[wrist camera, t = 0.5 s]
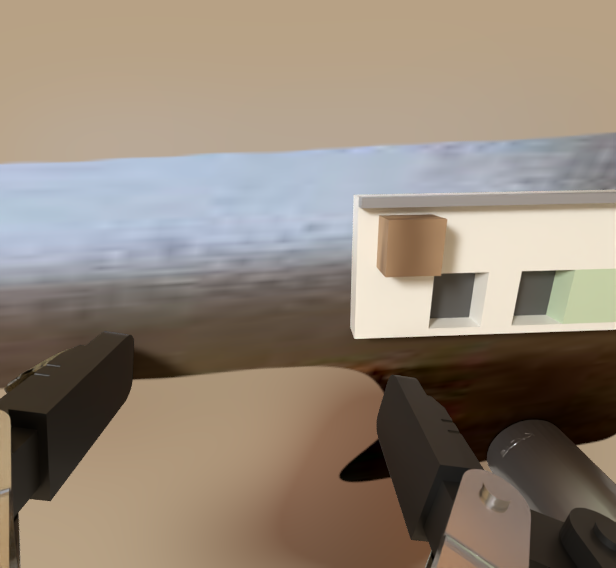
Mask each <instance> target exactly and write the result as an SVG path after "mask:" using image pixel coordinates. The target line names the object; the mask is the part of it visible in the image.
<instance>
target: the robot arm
mask: <svg viewBox="0 0 616 568" xmlns="http://www.w3.org/2000/svg"><path fill="white" fill-rule="evenodd" d="M133 356H134V339H133V336H132V335H127V334H120V333H114V332H107V331H104V332H102V333H101V334H100V335H98V336H97V337H96V338H95V339H93V340H92V341H91V342H90V343H89V344H87V345H86V346H84V345H79V346H76V347H74V348H72V349H69V350H67V351H64V352H62V353H60V354H59V355H57V356H56V357H55V358H53V359H52V360H51V361H49V362H48V363H47V365H46V366H43V367H42V368H40V369H39V370H38V371H36V372H35V374H34V375H31V376H30V377H28V378H27V379H26V380H24V381H23V382H22V383H20V384H19V385H18V386H17V387H15V388H14V389H13V390H11V391H10V392H9V393H7V394H6V395H5V396H3V397H2V398H1V399H0V568H20V536H19V514H18V512H19V511H20V510H21V509H22V507H23V506H24V505H25V504H26V503H27V501H28V500H29V499H35V500H45V501H51V500H52V498H53V497H54V496H55V494H56V493H57V492H58V490H59V489H60V488H61V486H62V485H63V484H64V482H65V481H66V480H67V478H68V477H69V476H70V474H71V473H72V471H73V470H74V469H75V468H76V466H77V465H78V463H79V462H80V461H81V460H82V458H83V457H84V456H85V454H86V453H87V452H88V450H89V449H90V448H91V446H92V445H93V444H94V442H95V441H96V440H97V438H98V437H99V436H100V434H101V433H102V432H103V430H104V429H105V428H106V426H107V425H108V424H109V422H110V421H111V420H112V418H113V417H114V416H115V414H116V413H117V412H118V410H119V409H120V407H121V406H122V405H123V404H124V402H125V401H126V399H127V397H128V395H129V392H130V390H131V386H132V379H133ZM377 434H378V438H379V441H380V444H381V448H382V451H383V454H384V457H385V460H386V463H387V466H388V470H389V473H390V476H391V479H392V482H393V485H394V488H395V491H396V495H397V498H398V501H399V504H400V507H401V510H402V513H403V516H404V520H405V523H406V526H407V529H408V532H409V535H410V538H411V540H419V541H428V542H429V544H430V547H431V550H432V551H431V553H430V556H429V558H428V561H427V564H426V567H425V568H616V484H615V483H614V482H613V481H612V480H611V479H610V478H609V477H608V476H607V475H606V474H605V473H604V472H603V471H602V470H601V469H600V468H599V467H597V466H596V465H595V464H594V463H593V462H592V461H591V460H590V459H589V458H588V457H587V456H586V455H585V454H584V453H583V452H582V451H581V450H580V449H579V448H578V447H577V446H576V445H575V444H574V443H573V442H572V441H571V440H570V439H569V438H568V437H567V436H566V435H565V434H564V433H563V432H562V431H561V430H560V429H558V428H557V427H556V426H555V425H553V424H552V423H550V422H547V421H544V420H526V421H521V422H518V423H516V424H513V425H511V426H509V427H508V428H506V429H504V430H503V431H502V432H501V433H499V434H498V435H497V436H496V438H495V439H494V440H493V441H492V443H491V445H490V447H489V450H488V453H487V462H488V466H489V467H490V469H491V471H492V472H493V473H491V472H488V471H485V470H484V469H483V468H482V466H481V465H480V463H479V461H478V460H477V458H476V457H475V455H474V454H473V452H472V450H471V449H470V447H469V446H468V444H467V443H466V441H465V440H464V438H463V436H462V435H461V434H459V430H458V429H457V427H456V426H455V424H454V423H452V419H451V418H450V416H449V415H448V413H447V412H446V410H445V408H444V407H443V406H441V405H440V404H439V403H438V402H437V401H436V400H435V399H433V398H432V397H431V396H427V395H426V393H425V392H424V390H423V388H422V387H421V385H420V383H419V382H418V380H417V379H416V378H411V377H404V376H398V375H391V376H390V378H389V380H388V383H387V386H386V389H385V393H384V396H383V400H382V403H381V406H380V409H379V413H378V417H377Z"/></svg>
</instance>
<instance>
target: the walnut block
mask: <svg viewBox="0 0 616 568" xmlns="http://www.w3.org/2000/svg"><path fill="white" fill-rule="evenodd" d="M446 227H447V219H446V218H442V217H439V216H436V215H433V214H423V215H379V226H378V247H377V268H378V270H379V271H380V272H381V273H382V274H383V275H384V276H385V277H416V276H441V272H442V263H443V254H444V245H445V236H446Z"/></svg>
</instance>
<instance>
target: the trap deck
mask: <svg viewBox="0 0 616 568" xmlns="http://www.w3.org/2000/svg"><path fill="white" fill-rule="evenodd" d="M423 214H433V215H436V216H439V217H442V218H446V219H447V227H446V236H445V245H444V254H443V263H442V272H441V276H416V277H385V276H384V275H383V274H382V273H381V272H380V271H379V270H378V268H377V247H378V226H379V215H423ZM350 328H351V331H352V333H353V336H354V339H363V338H391V337H419V336H448V335H476V334H504V333H532V332H560V331H589V330H616V190H572V191H522V192H472V193H422V194H372V195H354V200H353V239H352V278H351V318H350Z"/></svg>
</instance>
